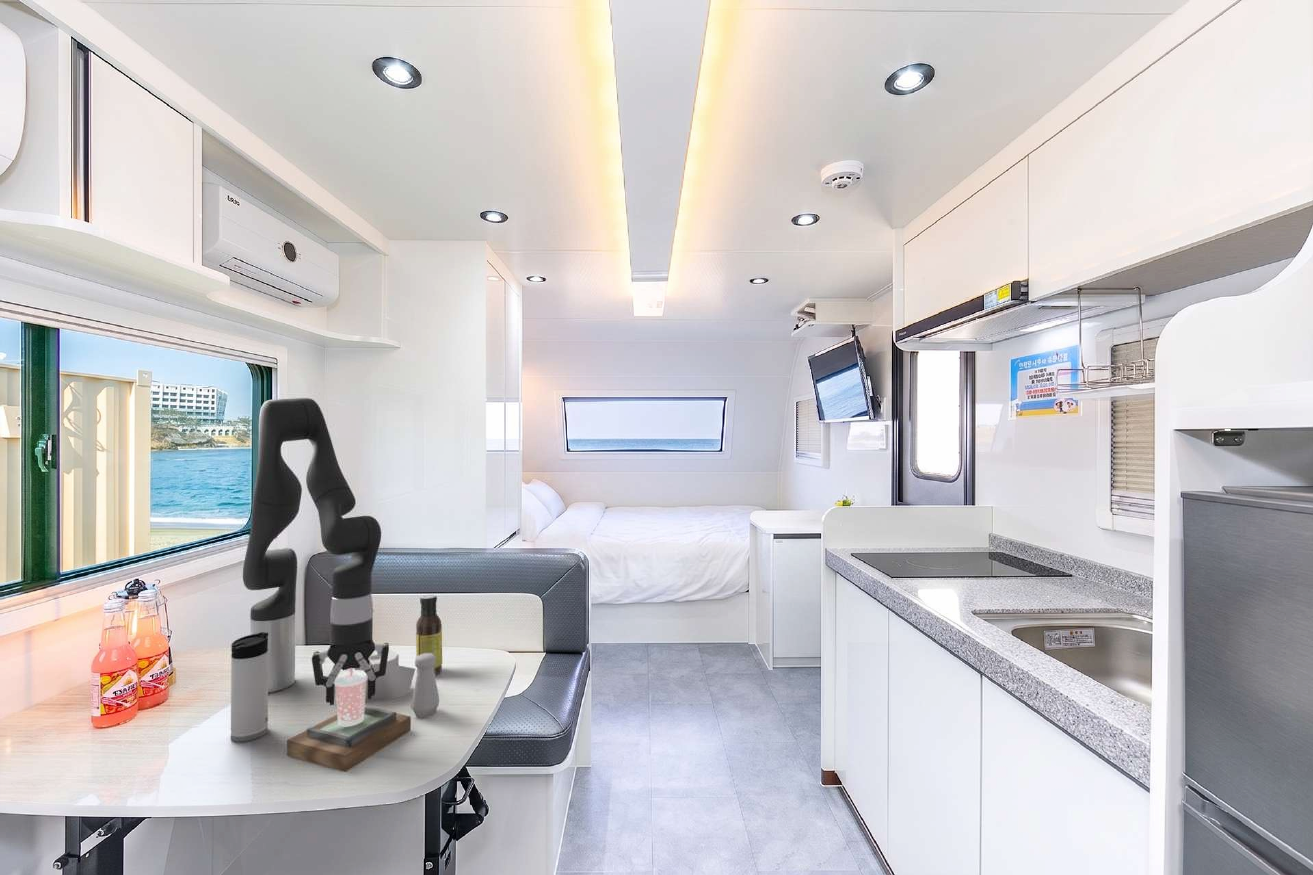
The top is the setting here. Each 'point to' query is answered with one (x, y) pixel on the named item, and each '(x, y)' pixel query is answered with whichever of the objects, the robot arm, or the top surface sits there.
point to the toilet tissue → (390, 678)
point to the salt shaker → (425, 687)
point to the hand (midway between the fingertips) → (351, 700)
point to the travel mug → (249, 687)
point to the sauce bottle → (429, 631)
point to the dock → (348, 739)
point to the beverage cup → (350, 697)
